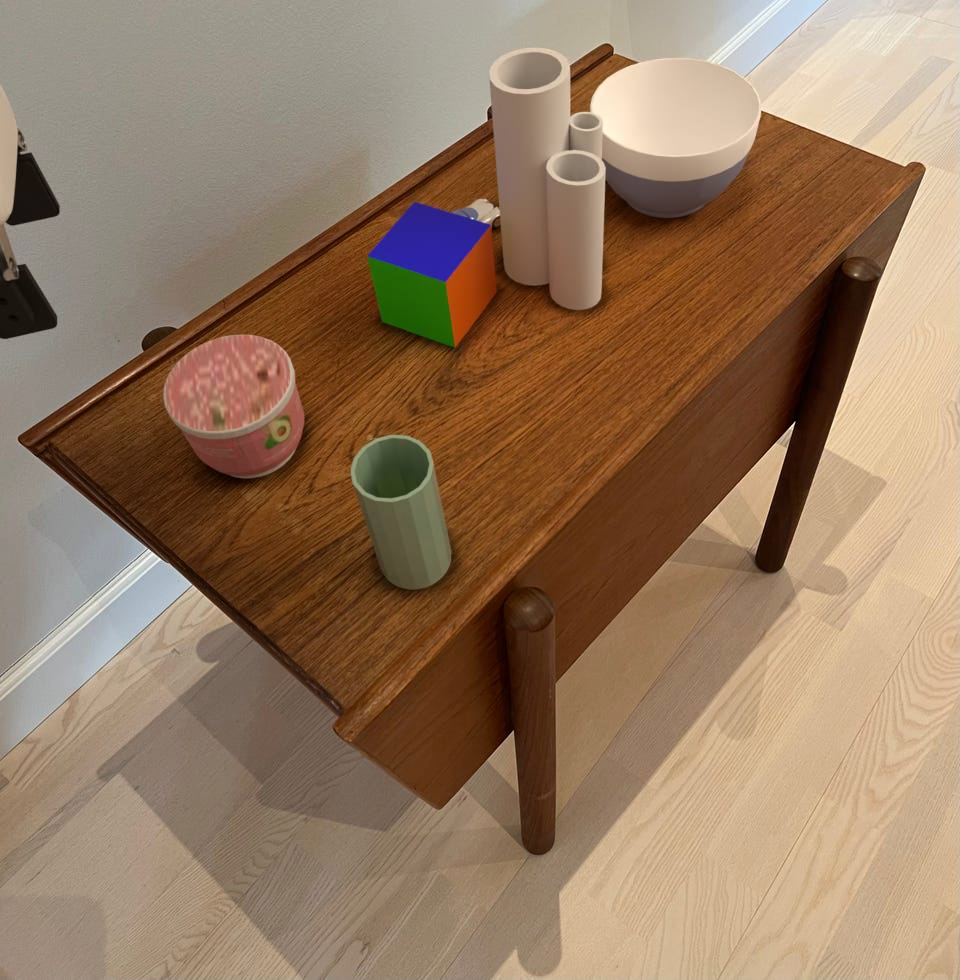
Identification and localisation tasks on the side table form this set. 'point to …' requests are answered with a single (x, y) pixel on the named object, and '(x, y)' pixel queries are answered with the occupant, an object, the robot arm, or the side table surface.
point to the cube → (434, 273)
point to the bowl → (675, 132)
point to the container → (237, 404)
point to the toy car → (482, 212)
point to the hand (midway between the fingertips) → (32, 271)
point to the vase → (548, 178)
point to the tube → (402, 510)
